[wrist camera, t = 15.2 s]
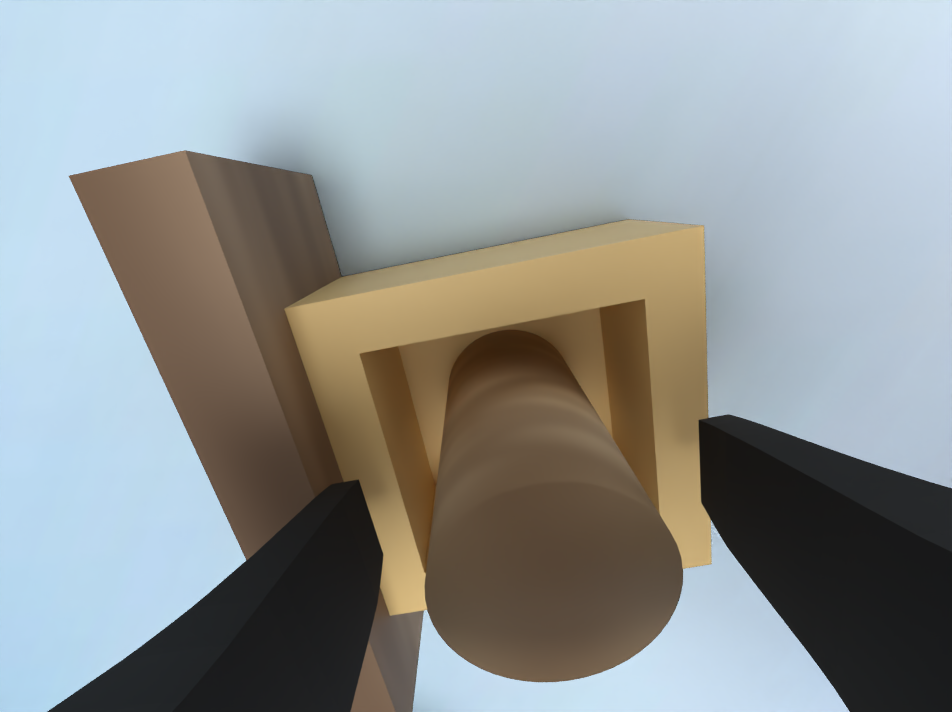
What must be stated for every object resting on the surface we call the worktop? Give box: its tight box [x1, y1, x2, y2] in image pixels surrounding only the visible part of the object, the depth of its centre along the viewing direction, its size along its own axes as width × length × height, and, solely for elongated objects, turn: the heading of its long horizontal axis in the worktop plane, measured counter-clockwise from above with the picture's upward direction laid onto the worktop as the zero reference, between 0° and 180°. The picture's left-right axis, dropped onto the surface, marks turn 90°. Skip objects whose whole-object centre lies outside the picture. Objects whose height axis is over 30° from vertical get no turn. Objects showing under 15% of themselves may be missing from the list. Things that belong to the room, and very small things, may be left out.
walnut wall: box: [69, 151, 424, 712], centre depth 12 cm, size 2×15×6 cm, turn 11°
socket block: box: [284, 219, 711, 616], centre depth 13 cm, size 9×9×4 cm
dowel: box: [424, 330, 683, 682], centre depth 11 cm, size 4×4×8 cm
